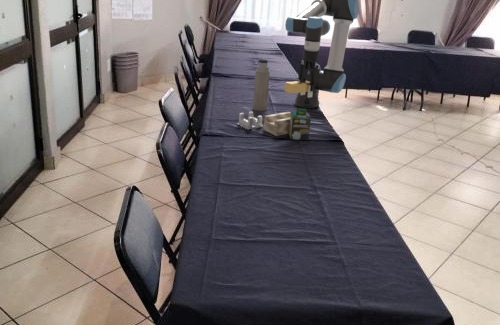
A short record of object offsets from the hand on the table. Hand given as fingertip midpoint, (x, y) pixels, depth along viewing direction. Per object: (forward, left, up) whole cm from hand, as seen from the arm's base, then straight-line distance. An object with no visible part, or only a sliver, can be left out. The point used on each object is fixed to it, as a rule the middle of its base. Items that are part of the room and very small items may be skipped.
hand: (306, 95), depth 230 cm
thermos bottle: (+1, -36, -17) cm, 40 cm away
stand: (+25, -13, -16) cm, 33 cm away
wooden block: (+6, 0, +3) cm, 7 cm away
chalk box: (+13, +11, -17) cm, 24 cm away
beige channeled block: (+15, 0, -16) cm, 22 cm away
